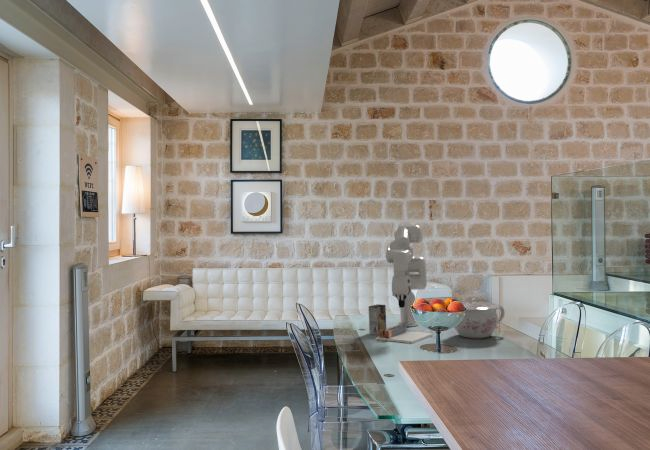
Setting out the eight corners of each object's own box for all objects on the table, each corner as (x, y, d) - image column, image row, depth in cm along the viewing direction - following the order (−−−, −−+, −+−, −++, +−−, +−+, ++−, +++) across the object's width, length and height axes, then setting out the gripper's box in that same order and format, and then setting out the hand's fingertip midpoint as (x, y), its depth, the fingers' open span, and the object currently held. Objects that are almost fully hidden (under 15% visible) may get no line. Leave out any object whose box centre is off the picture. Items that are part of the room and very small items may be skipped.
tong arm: (401, 331, 311) (400, 324, 311) (405, 332, 309) (405, 325, 309) (384, 337, 295) (384, 330, 295) (388, 338, 294) (388, 330, 294)
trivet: (398, 332, 318) (398, 329, 318) (432, 335, 304) (432, 333, 304) (376, 339, 299) (376, 337, 299) (412, 343, 285) (411, 341, 285)
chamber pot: (443, 339, 294) (442, 301, 294) (456, 330, 318) (455, 294, 318) (497, 343, 281) (496, 303, 281) (506, 333, 305) (505, 296, 305)
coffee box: (377, 331, 322) (376, 304, 323) (386, 332, 319) (385, 304, 319) (369, 333, 315) (368, 306, 315) (378, 334, 311) (377, 306, 311)
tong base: (399, 330, 315) (399, 321, 315) (407, 331, 312) (407, 322, 312) (379, 337, 298) (378, 328, 298) (387, 338, 294) (387, 328, 294)
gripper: (416, 273, 294) (417, 307, 294) (392, 272, 303) (393, 305, 304) (409, 275, 288) (410, 309, 289) (385, 273, 297) (386, 307, 298)
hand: (401, 307), depth 296 cm, fingers closed
